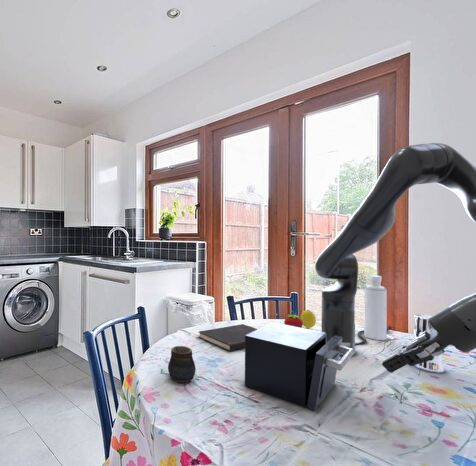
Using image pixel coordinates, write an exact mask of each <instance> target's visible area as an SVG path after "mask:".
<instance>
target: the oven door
mask: <svg viewBox="0 0 476 466" xmlns="http://www.w3.org/2000/svg"><path fill="white" fill-rule="evenodd" d="M341 344H342V337H339V336H336V335H335V336H334V337H333V338H332V339H331V340H330V341H329V342H328V343H327V344H325V345H324V346H323V347H322V348H321V349H320V350H319V351H318V352H317V353H316V356H315V362H314V368H313V374H312V380H311V386H310V392H309V397H308V403H307V406H306V408H308V409H310V410H312V411H316V410H317V409H318V407H319V406H320V404H321V403H323V401H324V400H325V398H326V396H327V395H328V394H329V392H330V391H331V390H332V388H333V387H334V385H335V383H336V377H337V371H342V370H343V369H344V368H345V366H346V365H347V364H348V362H349V361H350V360H351V358H352V357H353V356H354V355H355V354H356V350H355V351H354V349H352V348H348V347H345V346H342V345H341ZM340 352H341V353H344V355H340ZM354 353H355V354H354ZM353 354H354V355H353ZM340 356H341V357H340Z"/></svg>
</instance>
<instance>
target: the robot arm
mask: <svg viewBox="0 0 476 466" xmlns="http://www.w3.org/2000/svg"><path fill="white" fill-rule="evenodd" d="M434 183H435V184H437V185H440V186H442V187H444V188H446V189H448V190H450V191H451V192H453V193H454V194H455V195H456V196H457V197H458V198H459V200H460V201H461V203H462V205H463V208H464V210H465V213H466V214H467V215H468V217H469V218H470V220H472V221H473V223H475V224H476V166H475V165H473V163H471V162H470V161H469V160H468V159H466V158H465V157H464V156H463V155H462V154H461V153H460V152H459V151H457V150H456V149H455V148H453V146H450V145H448V144H446V143H443V142H431V143H420V144H411V145H406V146H403V147H400V149H398V150H396V151H395V152H394V154H392V155H391V157H390V158H389V160H388V161H387V163H386V165H385V166H384V168H383V169H382V171H381V173H380V175H379V177H378V178H377V180H376V182H375V183H374V185H373V186H372V188H371V190H370V191H369V193H368V194H367V196H366V197H365V198H364V200H362V203H361V204H360V205H359V207H358V208H356V210H355V211H354V213H352V216H350V218H349V219H348V221H347V222H346V224H345V225H344V226H343V228H342V229H341V230H340V231H339V233H338V234H337V235H336V237H335V238H334V239H333V240H332V241H331V242H330V243H329V244H328V245H327V246H326V247H325V248H324V249H323V250H322V251H321V252H320V253H319V254H318V257H317V259H316V261H315V265H314V266H315V272H316V274H317V275H318V277H320V278H322V279H324V280H325V279H326V280H336V282H335V283H334V284H333V285H330V286H329V287H326V288H324V289H322V291H321V332H325V333H326V344H327V343H328V342H329V341H330V340H331V339H332V338H333V337H334V336H335V335H336V336H339V337H342V344H341V345H342V346H345V347H348V348H352V349H354V351H355V353H354V354H353V355H352V356H354V355H355V354H356V346H362V345H364V344H366V343H367V342H368V341H367V339H366V337H365V336H362V335H361V334H364V329H363V330H359V331H358V333H357V336H358V337H359V338H360V339H361V340H362V341H360V342H357V343H356V322H355V320H356V319H355V316H356V315H355V314H356V313H355V311H356V308H355V307H356V305H355V302H356V301H355V300H356V295H357V292H358V280H359V279H358V278H359V262H358V259H357V256H356V255H355V254H356V253H358V252H360V251H363V250H364V249H367V248H368V247H371V246H373V245H375V244H377V242H379V241H380V240H382V238H383V237H384V236H385V235H386V234H387V233H389V231H390V230H391V228H392V227H393V225H394V224H395V222H396V217H397V215H396V214H397V212H396V205H397V203H398V202H399V200H400V198H401V197H402V196H404V194H405V193H406V192H407V191H408V190H410V189H411V188H412V187H413V186H416V185H424V184H434ZM428 321H429V323H430V325H431V326H432V327H433V328H434V329H435V330H434V331H432V332H430V333H428V332H426V331H425V332H423V333H421V334H419V336H418V337H417V338H415V339H414V338H413V339H412V340H410V341H408V342H407V344H405V345H403V346H402V347H401V349H399V350H398V351H397V353H395V354H393V355H392V356H390V357H388V358H386V359H385V360H383V361H382V363H381V365H382V367H383V368H384V369H385V370H386V371H387V372H388V373H395V372H396V371H398V370H400V369H401V368H403V367H405V366H409V367H414V366H415V365H417V364H420V363H423V362H427V361H431V360H433V358H434V357H433V356H439V355H441V354H442V355H443V354H445V353H446V351H445V350H446V348H448V347H449V346H453V347H454V348H455V350H456V349H457V350H458V351H459V352H462V353H469V352H472V351H474V350H475V349H476V292H474V293H472V294H469V295H467V296H465V297H463V298H462V297H461V299H459V300H457V301H456V302H453V303H452V304H450V305H448V306H447V307H445V308H443V309H441V310H440V311H437V312H436V313H435V314H433V315H432V316H431V317H429V319H428ZM389 330H392V326H391V325H387V332H388V331H389ZM343 355H344V353H341V352H340V355H339V356H343Z"/></svg>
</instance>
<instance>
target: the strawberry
mask: <svg viewBox="0 0 476 466" xmlns="http://www.w3.org/2000/svg"><path fill="white" fill-rule="evenodd" d="M300 318H301V315H297V314H294V312H292V314H287V315H286V316H285V319H284V321H283V322H284V323H283V324H284V325H289V326H294V327H299V328H303V321H302V320H301V319H300Z"/></svg>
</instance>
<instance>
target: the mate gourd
mask: <svg viewBox="0 0 476 466" xmlns="http://www.w3.org/2000/svg"><path fill="white" fill-rule="evenodd" d="M196 371H197V367H196V363H195V361H194V358H193V350H192V349H191V348H190V347H188V346H184V345H175V346H173V347H172V348H171V349H170V358H169V362H168V365H167V372H168V375H169V377H170V378H171V379H172V380H173V381H175V382H177V383H181V384H185V383H189V382H190V381H192V380H193V379H194V377H195V375H196Z"/></svg>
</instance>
